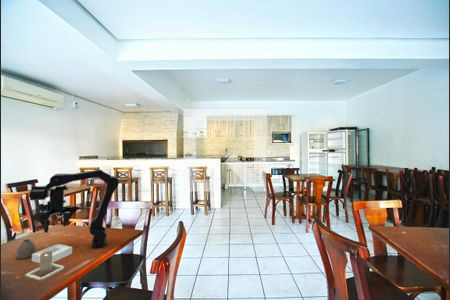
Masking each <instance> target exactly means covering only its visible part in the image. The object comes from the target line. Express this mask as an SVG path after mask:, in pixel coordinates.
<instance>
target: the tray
mask: <svg viewBox="0 0 450 300" xmlns="http://www.w3.org/2000/svg"><path fill="white" fill-rule="evenodd" d="M52 267H55V268H56V269H55V270H54V271H51V272H50V273H47V274H44V276H42V277H40V276H36V275H34V273H36V272H38V271H40V267H37V268H36V269H33V270H32V271H29V272H27V273H25V274H24V277H26V278H27V277H28V278H30V279H34V280H37V281H40V282H41V281H43V280H45V279H47V278H48V277H51V276H52V275H54V274H57V273H58V272H60V271H62V270H64V269H65V268H66V266H65V265H61V264H56V263H54V262H53V263H52Z"/></svg>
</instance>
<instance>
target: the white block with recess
mask: <svg viewBox="0 0 450 300" xmlns="http://www.w3.org/2000/svg"><path fill="white" fill-rule="evenodd" d="M44 252H52V263H53V264H54V263H55V262H58V261H59V260H61V259H63V258H65V257H67V256H70V255H72V254H73V247H72V246H69V245H64V244H60V243H57V244H54V245H52V246H49V247H45V248H44V249H42V250H39V251H37V252H36V251H35V253H33V254H32V257H31V262H34V263H38V264H40V255H41V254H42V253H44Z"/></svg>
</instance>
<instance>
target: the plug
mask: <svg viewBox="0 0 450 300" xmlns="http://www.w3.org/2000/svg"><path fill="white" fill-rule="evenodd" d="M52 267H53V266H52V252H44V253H42V254H41V255H40V263H39V268H40V270H39V275H47V274H49V273H51V272H53V271H52V269H53V268H52Z"/></svg>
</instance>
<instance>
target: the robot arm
mask: <svg viewBox="0 0 450 300" xmlns="http://www.w3.org/2000/svg"><path fill="white" fill-rule="evenodd" d="M95 178H99V179H100V180H102V181H103V182H104V183H105V184H106V186H105V192H104V194H103V197H102V201H101V202H100V203H101V204H100V205H99V207H98V208H99V209H98V211H97V214H96V216H95V218H93V217H92V218H91V222H90V223H89V226H88V229H89V234H90V235H91V236H93V237H92V243H91V249H96V250H97V249H99V248H104V247H105V246H109V243H107V239H108V238H107V235H108V234H107V229H106V228H105V227H104V226H103V225H104V219H105V216H106V213H107V210H108V207H109V205H110V202H111V199H112V197H113V194H114V192H115V191H116V190H117V188H118V186H119V184H120V181H119V178H118V177H117V176H114V175H111V174H109V173H107V172H105V171H103V170H102V169H96V170H89V171H83V172H82V171H81V172H75V173H56V174H53V175H52V176H51V177H50V178H49V183H47V184H46V185H41V186H40V185H39V186H37V185H32V186H31V189H30V193H29V201H45V200H46V198H49V200H47V202H46V204H44V203H40V204H37V205H36V211H37V212H36V213H34V214H33V215H32V221H35V222H39V223H40V225H41V226H42V228H43V231H44V233H45V234H46V233H49V228H50V222H51V219H50V218H51V217H52V216H56V215H60V214H62V216H63V217H62V218H63V219H62V224H63V227H64V228H65V227H67V225H68V223H69V222H70V220H71V218H72V217H73V215H75V214H76V212H77V211H78V207H77V206H76V205H72V204H70V205H69V204H68V205H65V206H64V204H65V203H66V201H67V200H65V191H68V190H69V187H68V186H67V185H66V184H70V183H73V182H76V181H82V180H88V179H90V180H91V179H95Z"/></svg>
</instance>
